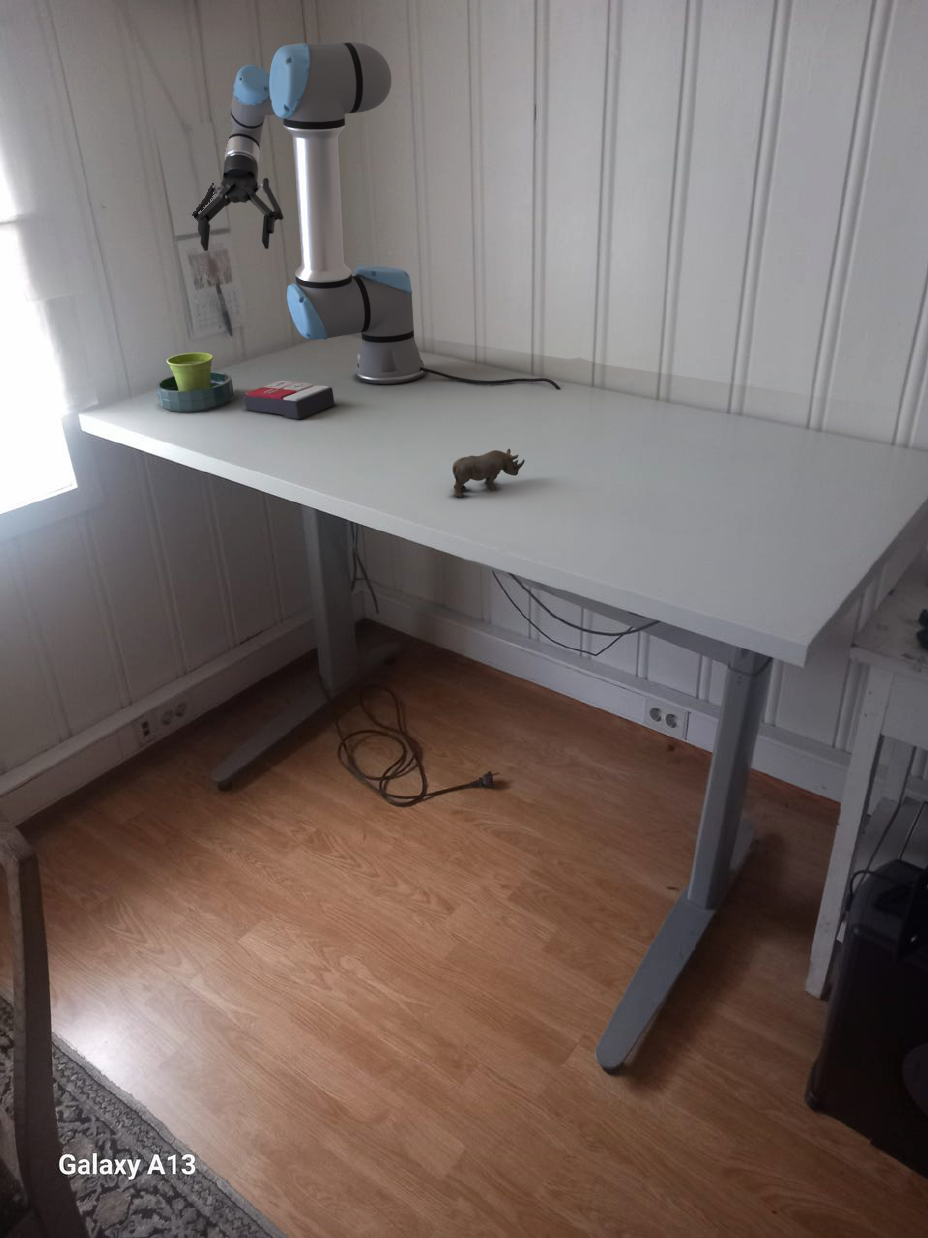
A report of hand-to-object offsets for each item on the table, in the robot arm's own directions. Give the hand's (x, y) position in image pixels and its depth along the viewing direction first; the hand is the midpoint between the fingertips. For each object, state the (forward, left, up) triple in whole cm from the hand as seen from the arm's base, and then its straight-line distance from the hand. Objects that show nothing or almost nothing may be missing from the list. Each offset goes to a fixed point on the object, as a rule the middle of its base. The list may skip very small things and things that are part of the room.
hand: (234, 245), depth 211 cm
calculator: (-29, +15, -28) cm, 43 cm away
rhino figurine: (-90, +28, -28) cm, 98 cm away
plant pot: (-8, +22, -27) cm, 36 cm away
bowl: (-8, +23, -28) cm, 37 cm away
